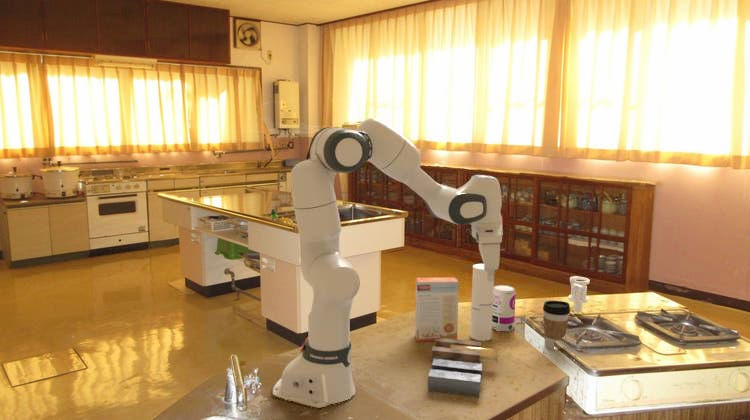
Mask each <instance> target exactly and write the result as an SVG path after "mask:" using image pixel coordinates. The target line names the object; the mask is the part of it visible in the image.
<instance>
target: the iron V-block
mask: <svg viewBox="0 0 750 420" xmlns="http://www.w3.org/2000/svg"><path fill="white" fill-rule="evenodd" d="M482 379H483V363H480V364H478V363H469V362H460V361H451V360H442V359H434V360H433V363H432V369H431V368H430V370H429V373H428V376H427V392H431V393H440V394H447V395H455V396H461V397H469V398H470V397H471V398H480V397H481V388H482V381H483V380H482Z"/></svg>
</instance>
